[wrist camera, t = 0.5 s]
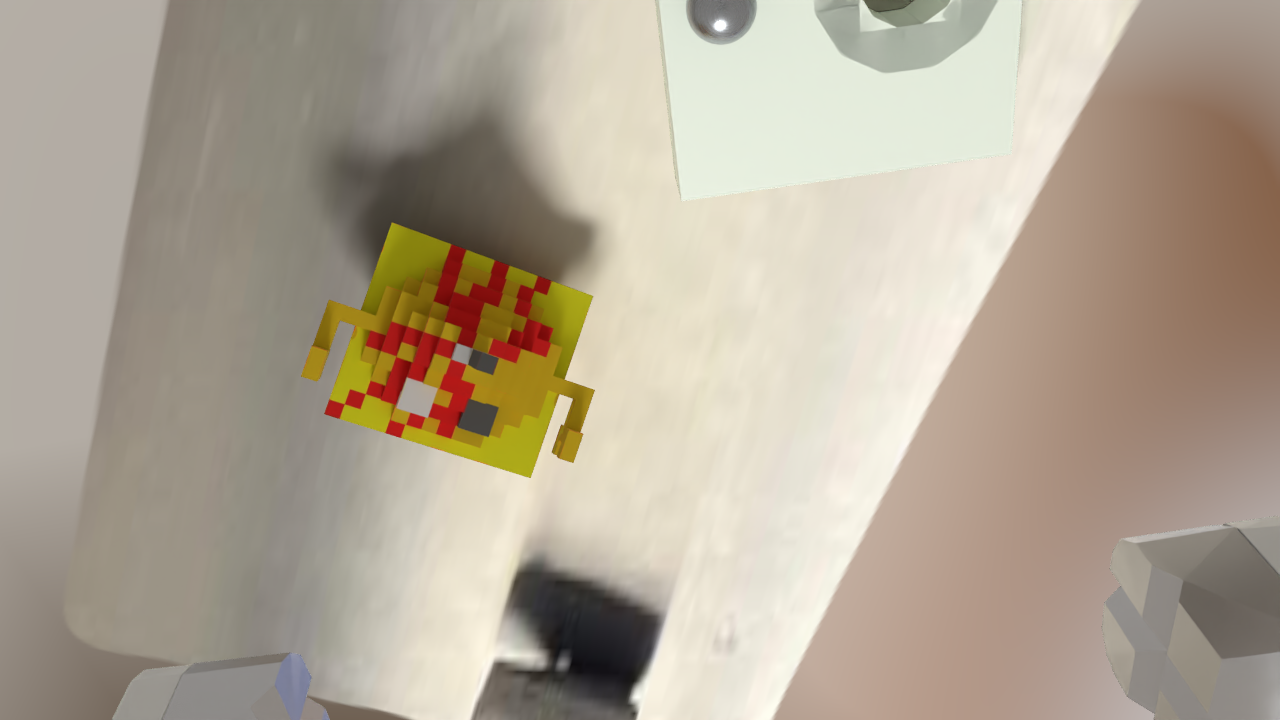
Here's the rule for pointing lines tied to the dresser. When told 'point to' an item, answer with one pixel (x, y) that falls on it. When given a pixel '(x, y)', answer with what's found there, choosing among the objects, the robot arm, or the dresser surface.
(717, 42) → the ball
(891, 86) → the board
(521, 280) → the toy
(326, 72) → the dresser surface
